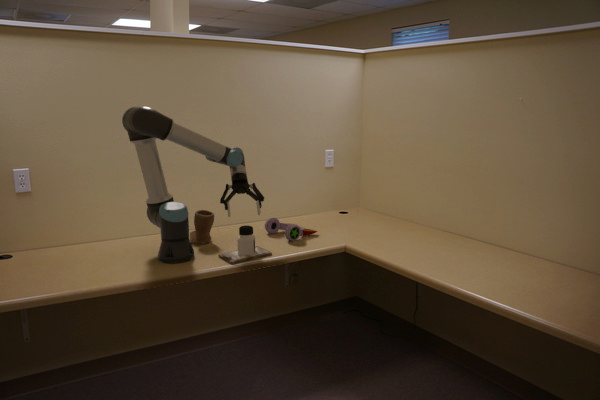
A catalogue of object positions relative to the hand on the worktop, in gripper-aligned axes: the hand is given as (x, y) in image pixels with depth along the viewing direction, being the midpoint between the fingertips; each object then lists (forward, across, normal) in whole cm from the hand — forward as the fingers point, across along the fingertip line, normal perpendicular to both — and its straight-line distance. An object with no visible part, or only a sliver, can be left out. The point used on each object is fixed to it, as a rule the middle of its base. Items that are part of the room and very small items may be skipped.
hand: (244, 214), depth 202 cm
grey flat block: (+18, +1, -5) cm, 19 cm away
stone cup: (-1, +18, -25) cm, 31 cm away
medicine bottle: (+17, +1, -5) cm, 17 cm away
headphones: (0, -27, -24) cm, 36 cm away
